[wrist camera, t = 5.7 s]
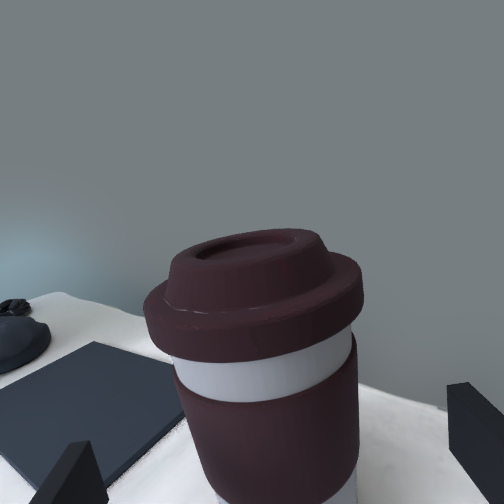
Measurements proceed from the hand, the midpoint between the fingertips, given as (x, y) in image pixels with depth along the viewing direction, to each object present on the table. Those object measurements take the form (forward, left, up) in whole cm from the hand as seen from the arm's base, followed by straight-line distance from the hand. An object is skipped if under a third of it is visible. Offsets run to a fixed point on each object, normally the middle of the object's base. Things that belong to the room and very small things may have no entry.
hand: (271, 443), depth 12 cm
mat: (-25, +4, -8) cm, 26 cm away
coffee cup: (-3, +4, -9) cm, 10 cm away
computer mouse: (-55, +8, -9) cm, 56 cm away
